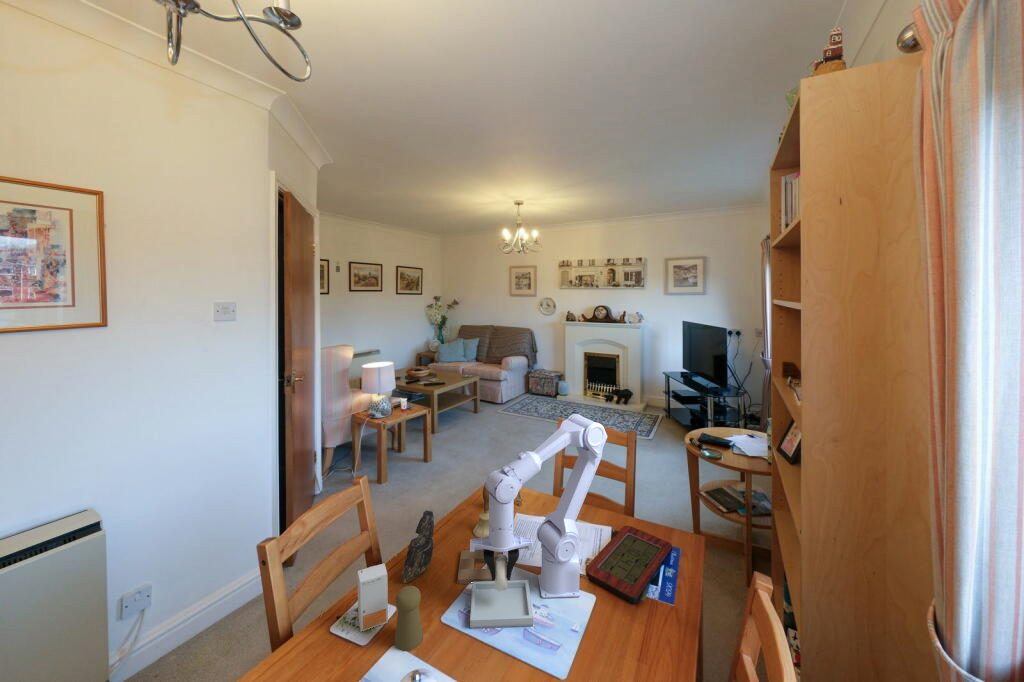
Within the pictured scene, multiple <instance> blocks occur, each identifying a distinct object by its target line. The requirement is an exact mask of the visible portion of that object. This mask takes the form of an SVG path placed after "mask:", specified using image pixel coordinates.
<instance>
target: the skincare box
mask: <svg viewBox="0 0 1024 682" xmlns="http://www.w3.org/2000/svg"><path fill="white" fill-rule="evenodd" d="M356 571H357V572H356V573H357V614H358V619H357V620H358V625H359V631H360V633H363V632H364V631H368V630H371V629H373V627H374V628H377V627H379V626H383V625H385V624H387V623H388V622H389V601H388V599H389V598H388V596H389V593H388V591H389V590H388V589H389V587H388V571H387V568H386V563H381V564H377V565H372V566H369V567H366V568H364V569H360V570H356ZM376 626H377V627H376ZM370 628H371V629H370ZM367 629H368V630H367ZM362 631H363V632H362Z"/></svg>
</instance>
